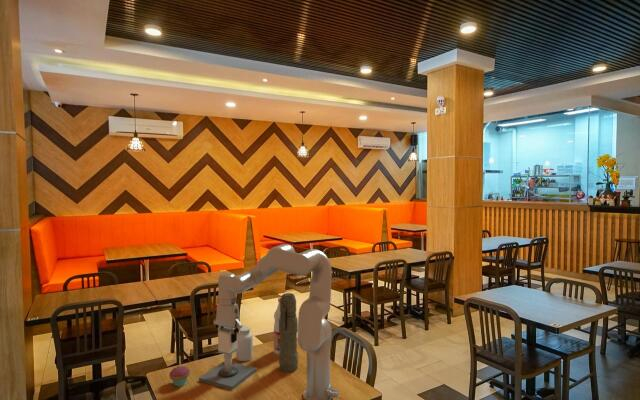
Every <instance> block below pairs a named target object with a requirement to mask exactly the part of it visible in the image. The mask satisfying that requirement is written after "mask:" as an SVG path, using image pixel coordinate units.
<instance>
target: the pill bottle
mask: <svg viewBox="0 0 640 400" xmlns="http://www.w3.org/2000/svg"><path fill="white" fill-rule="evenodd" d="M253 338H254V337H253V334H252V333H251V328H250V327H248V326H243V327H242V328H241V329H240V330H239V331H238V333H237V345H238V350H236V351H235V353H236V356H235V358H236V360H237V361H238V362H248V361H250V360H252V359H253V353H254V351H253V347H254V346H253V345H254V343H253Z"/></svg>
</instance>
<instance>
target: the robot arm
mask: <svg viewBox="0 0 640 400" xmlns="http://www.w3.org/2000/svg"><path fill="white" fill-rule="evenodd" d="M279 271H281V272H286V273H288V274H292V275H297V276H306V275H308V274H310V273H311V278H310V282H309V283H310V284H309V296H308V298H307V299H305V300H304V301H303V302H302V303H301V305H300V307H299V310H298V317H297V320H298V331H297V342H298V343H297V344H298V345H299V347H300V348H301V350H303V351H304V352H306V388H305V389H304V390H303V392H302V397H303V399H304V400H331V399H332V398H333V399H334V398H337V399H338V398H340V393H339V389H336V388H333V384H332V383H331V344H332V335H333V334H332V333H333V332H332V326H331V324H330V322H329V321H328V320H327V319H325V317H326V316H327V315H328V314H329V312H331V301H332V299H331V298H332V297H331V296H332V279H333V278H332V274H333V272H332V263H331V261H330V259H329V257H328V256H327V255H326V254H325V253H324V252H323V251H321V250H319V249H316V248H311V249H307V250H305V251H302V252H300V253H298V252H296V250H295V248H294V246H292V245H291V244H288V243H287V244H286V243H283V244H280V245H277V246H273V247H272V248H270V249H269V250H268V251H267V252H266V254H265V255H264V256H262V257H261V258H259V259H258V260H257V264H256V265H255V266H254V267H253V268H251V269H250V270H248V271H246V272H243V273H240V274H238V275H235V273H233V272H222V273H221V274H219V276H218V278H217V279H218V283H217V284H218V286H217V287H218V304H217V308H216V313H215V314H216V317H215V319H214V320H213V322H212V323H213V324H214V325H215V328H216V329H217V331H218V330H220V329H222V328H224V327H229V328H231V331H232V334H231V343H234V342H235V341H237V335H238V333H239V330H240V329H241V328H242V327H244V325H243V324H242V323H241V318H240V317H241V316H240V308H239V305H238V302H239V300H238V299H237V294H242V293H244V292H246V291H248V290H250V289H252V288H255V286H257V285H259V284H260V283H262V282H264V281H265V280H267V279H268V278H269V277H271V276H273V275H274V274H276V273H277V272H279ZM234 329H235V330H234ZM333 399H332V400H333Z"/></svg>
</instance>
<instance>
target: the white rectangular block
mask: <svg viewBox="0 0 640 400" xmlns="http://www.w3.org/2000/svg"><path fill="white" fill-rule="evenodd" d="M234 330H235V329H234ZM231 334H232V331H231V328H229V327H224V328H222V329H220V330H218V329H217V341H218V343H217V344H218V345H217V346H218V347H217V348H218V349H217V350H218V352H217V353H218V354H223V355H224V354H226V355H230V354H234V353H236V350H238V345H237V341H235V342H234V343H231Z"/></svg>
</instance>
